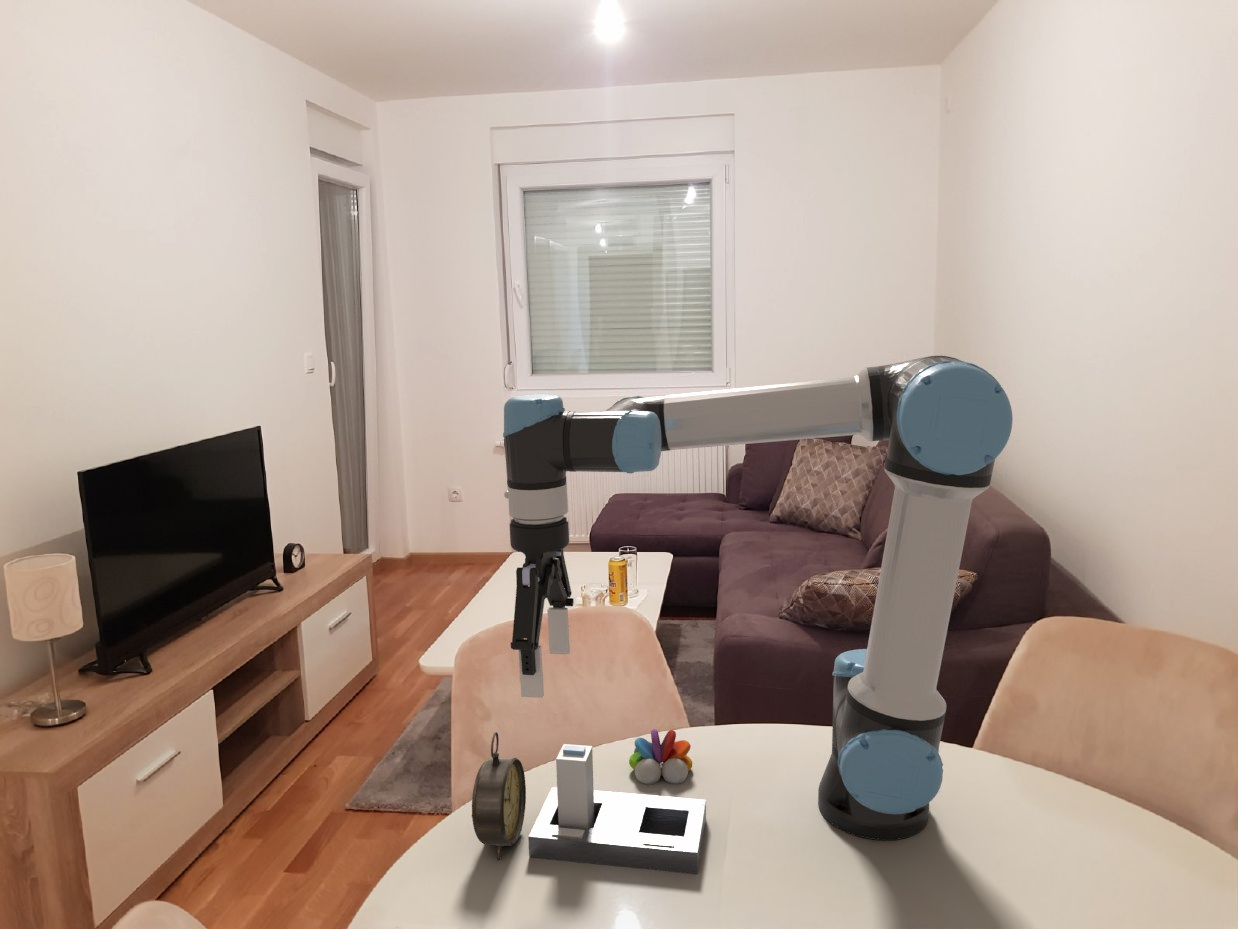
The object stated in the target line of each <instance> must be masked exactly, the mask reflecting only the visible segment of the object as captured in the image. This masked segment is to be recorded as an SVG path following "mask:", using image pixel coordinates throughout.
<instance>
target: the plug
mask: <svg viewBox="0 0 1238 929" xmlns="http://www.w3.org/2000/svg"><path fill="white" fill-rule="evenodd" d="M593 757H594V756H593V746H592V745H581V744H571V743H570V744H569V743H567V744H566V743H563V745H562V747H561V748H560V750H559V752H558V754H557V757H556V758H555V764H556V766H555V768H556V787H557V795H558V822H559V825H560V826H571V827H582V828H594V826H595V823H594V764H593V763H594V761H593Z"/></svg>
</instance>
